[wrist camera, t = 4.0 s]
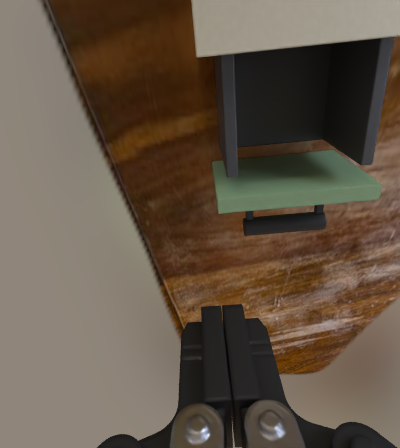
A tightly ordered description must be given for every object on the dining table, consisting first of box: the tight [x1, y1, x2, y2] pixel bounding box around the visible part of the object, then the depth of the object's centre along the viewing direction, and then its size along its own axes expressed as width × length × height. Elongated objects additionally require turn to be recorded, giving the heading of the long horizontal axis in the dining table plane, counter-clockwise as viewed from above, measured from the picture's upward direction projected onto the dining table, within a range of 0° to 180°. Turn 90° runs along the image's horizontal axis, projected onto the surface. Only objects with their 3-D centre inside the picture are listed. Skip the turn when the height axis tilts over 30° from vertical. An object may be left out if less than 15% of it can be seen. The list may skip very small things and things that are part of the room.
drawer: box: [212, 37, 394, 236], centre depth 24 cm, size 18×12×9 cm, turn 5°
